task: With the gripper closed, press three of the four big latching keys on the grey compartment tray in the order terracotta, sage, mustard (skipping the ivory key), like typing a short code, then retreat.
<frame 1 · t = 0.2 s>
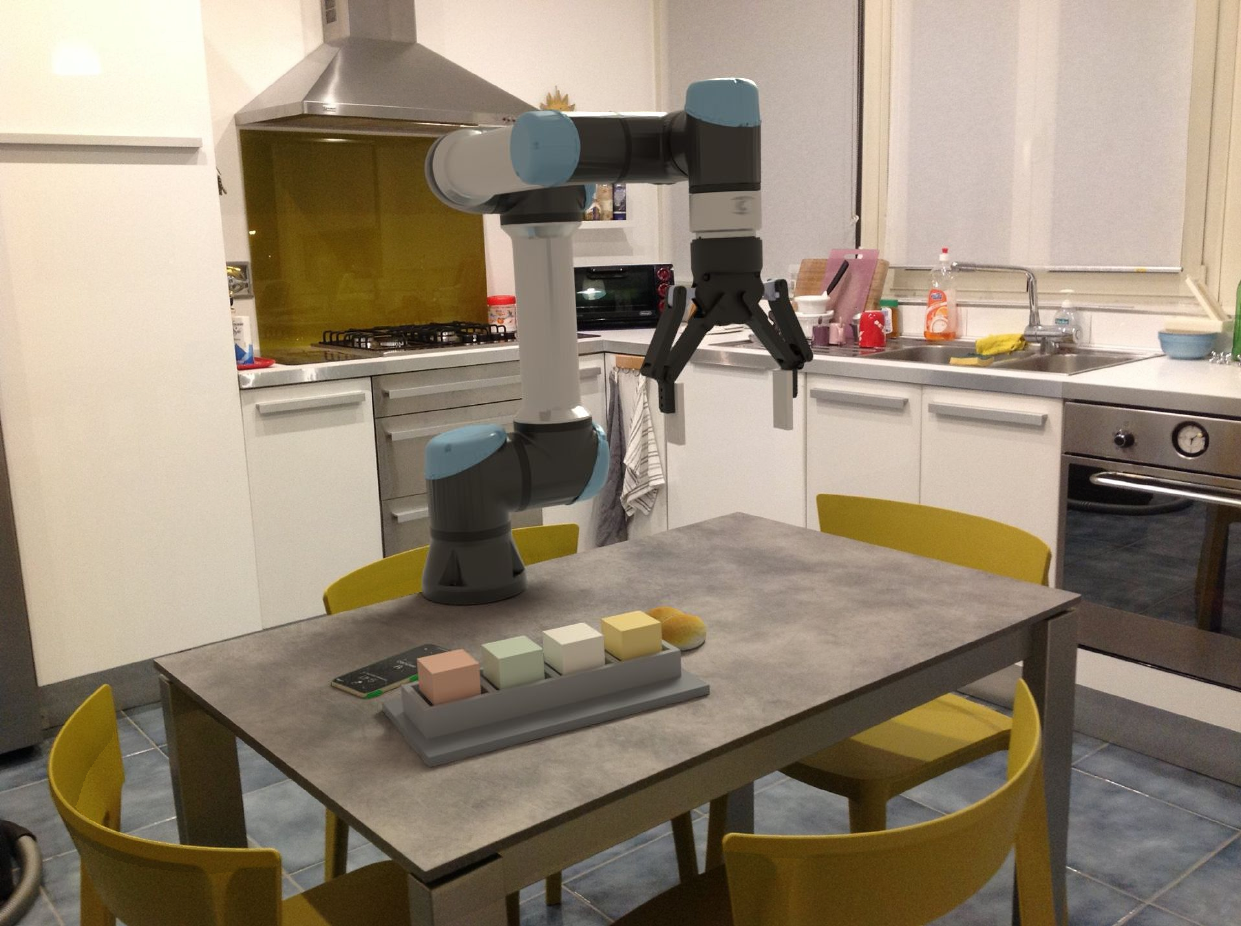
hand: (730, 436, 122), 28 cm above the table, fingers open, 13 cm apart
bread roll: (670, 642, 141), on the table
key sage: (512, 662, 121), point 5 cm above the table, slide at 0.0 cm
key mustard: (631, 635, 127), point 5 cm above the table, slide at 0.0 cm
grey compartment tray: (546, 701, 123), on the table
key terracotta: (448, 676, 117), point 5 cm above the table, slide at 0.0 cm
smartphone: (399, 675, 134), on the table
key ivory: (573, 648, 124), point 5 cm above the table, slide at 0.0 cm
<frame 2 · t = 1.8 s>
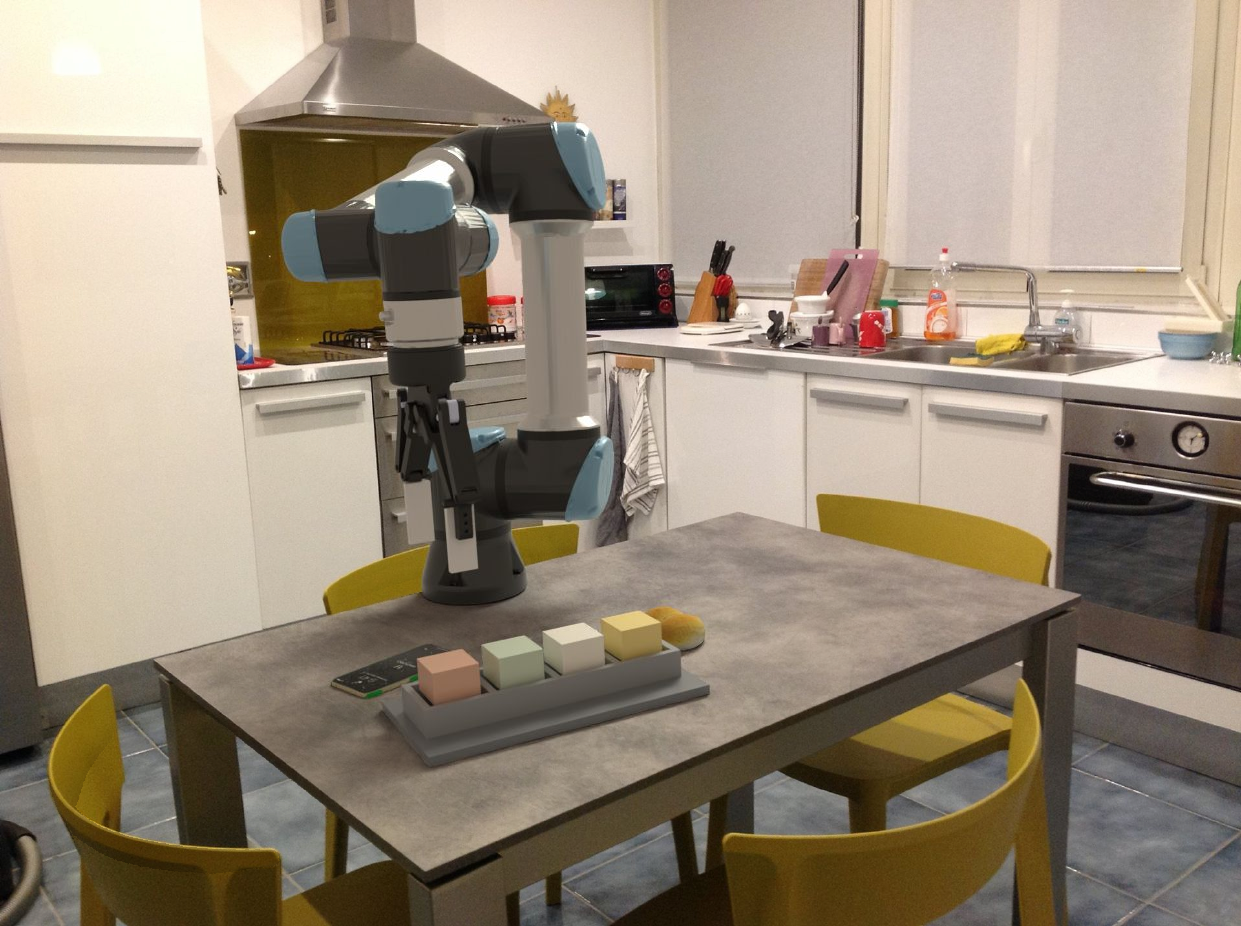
hand: (441, 555, 115), 18 cm above the table, fingers open, 12 cm apart
nothing on the table moved.
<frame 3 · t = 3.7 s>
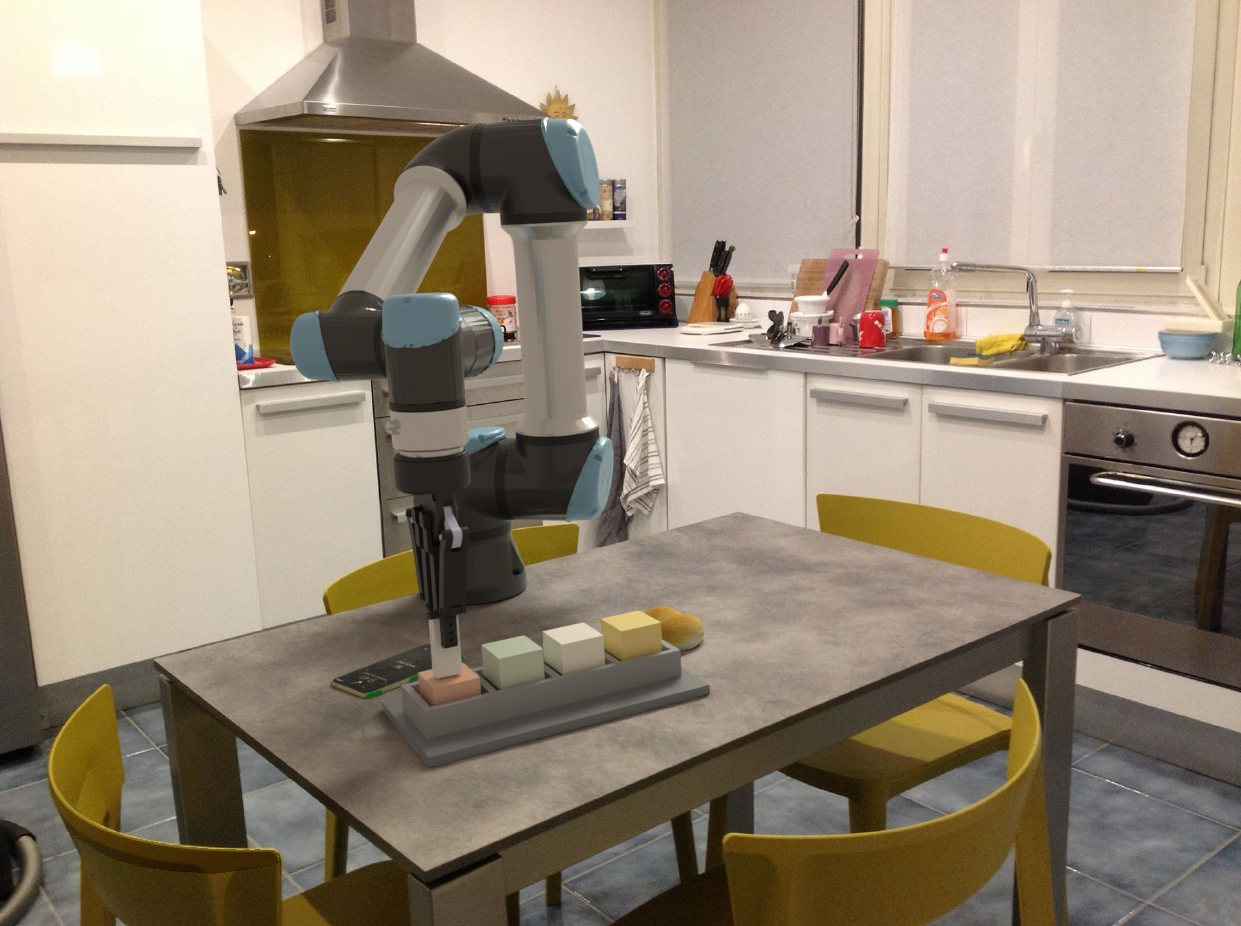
hand: (447, 673, 117), 6 cm above the table, fingers closed
key terracotta: (449, 690, 118), point 4 cm above the table, slide at 1.6 cm, touching gripper
everything else where it was.
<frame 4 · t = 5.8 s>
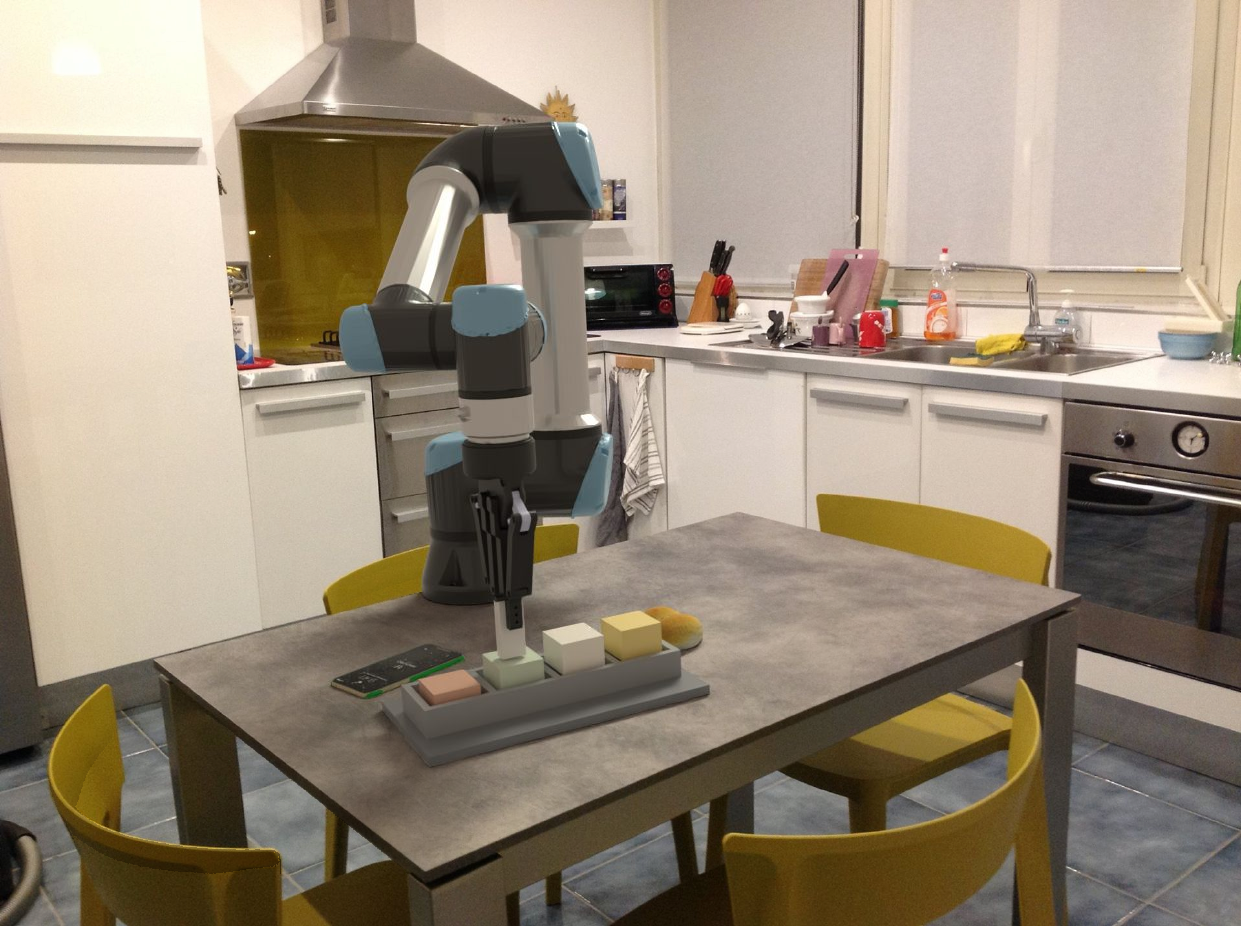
hand: (511, 654, 120), 6 cm above the table, fingers closed
key sage: (513, 671, 121), point 4 cm above the table, slide at 1.1 cm, touching gripper
key terracotta: (450, 697, 118), point 3 cm above the table, slide at 2.3 cm
everything else where it was.
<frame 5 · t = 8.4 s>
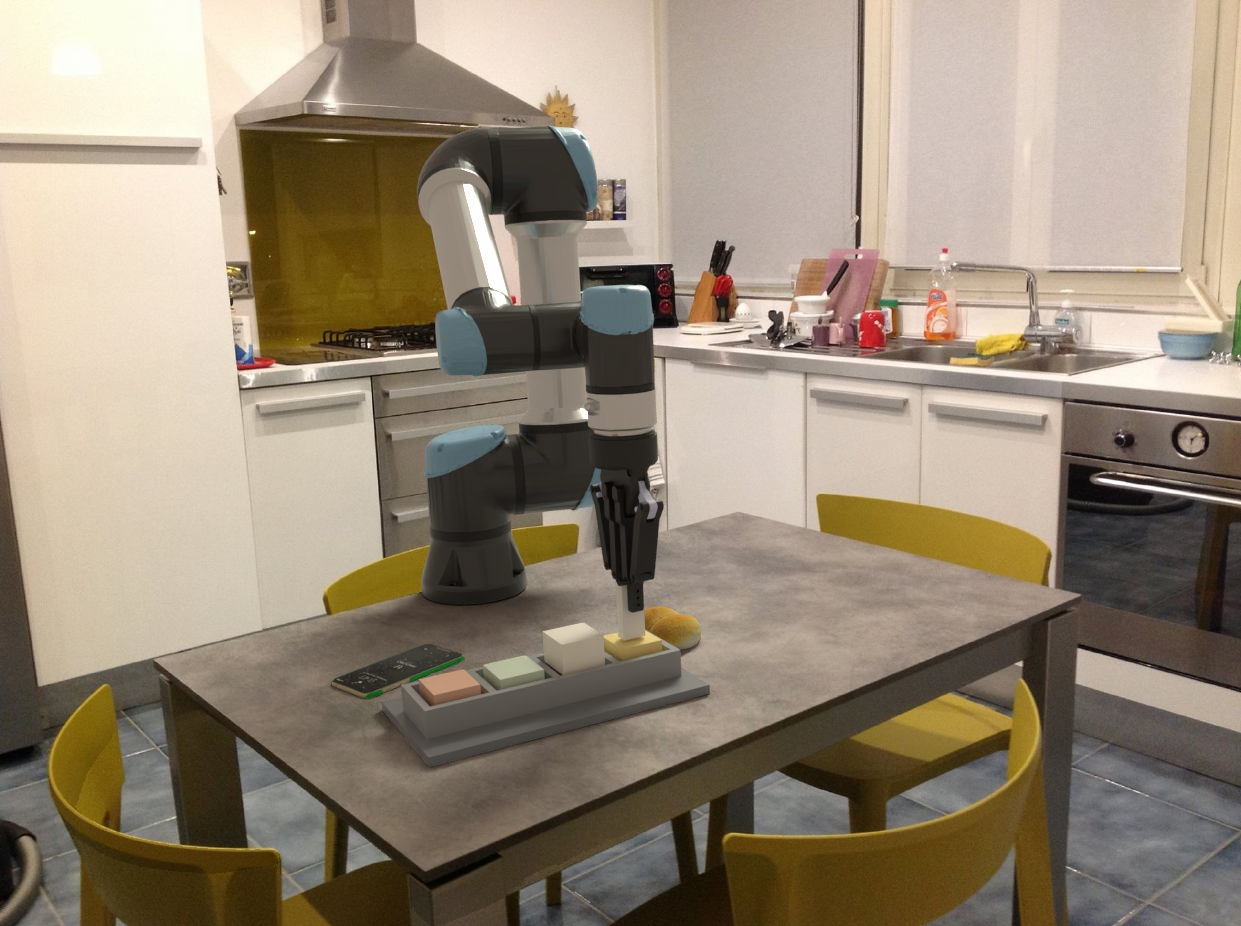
hand: (631, 636, 127), 5 cm above the table, fingers closed
key sage: (514, 682, 121), point 3 cm above the table, slide at 2.3 cm
key mustard: (632, 652, 128), point 3 cm above the table, slide at 2.1 cm
everything else where it was.
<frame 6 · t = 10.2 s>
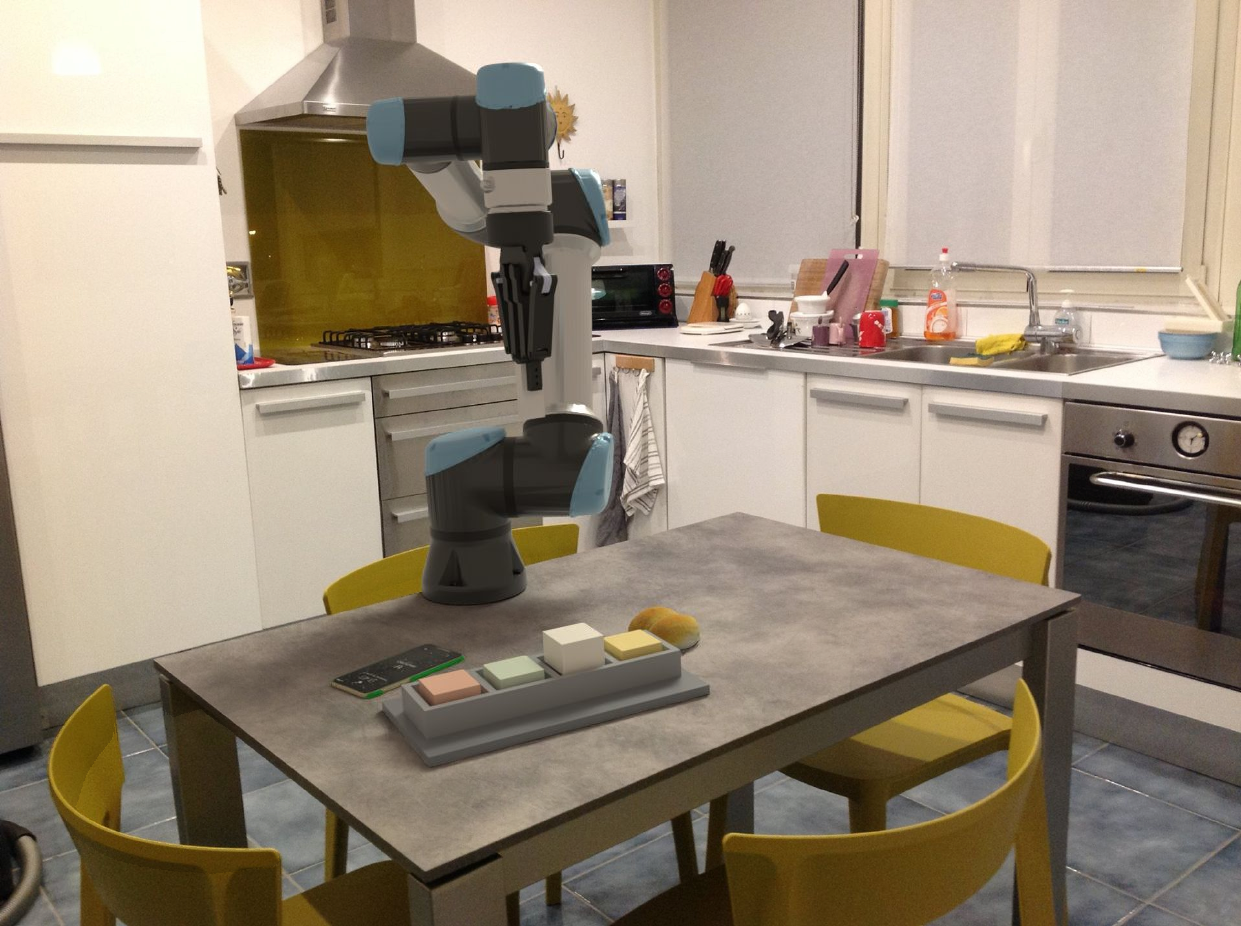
hand: (531, 417, 131), 29 cm above the table, fingers closed
nothing on the table moved.
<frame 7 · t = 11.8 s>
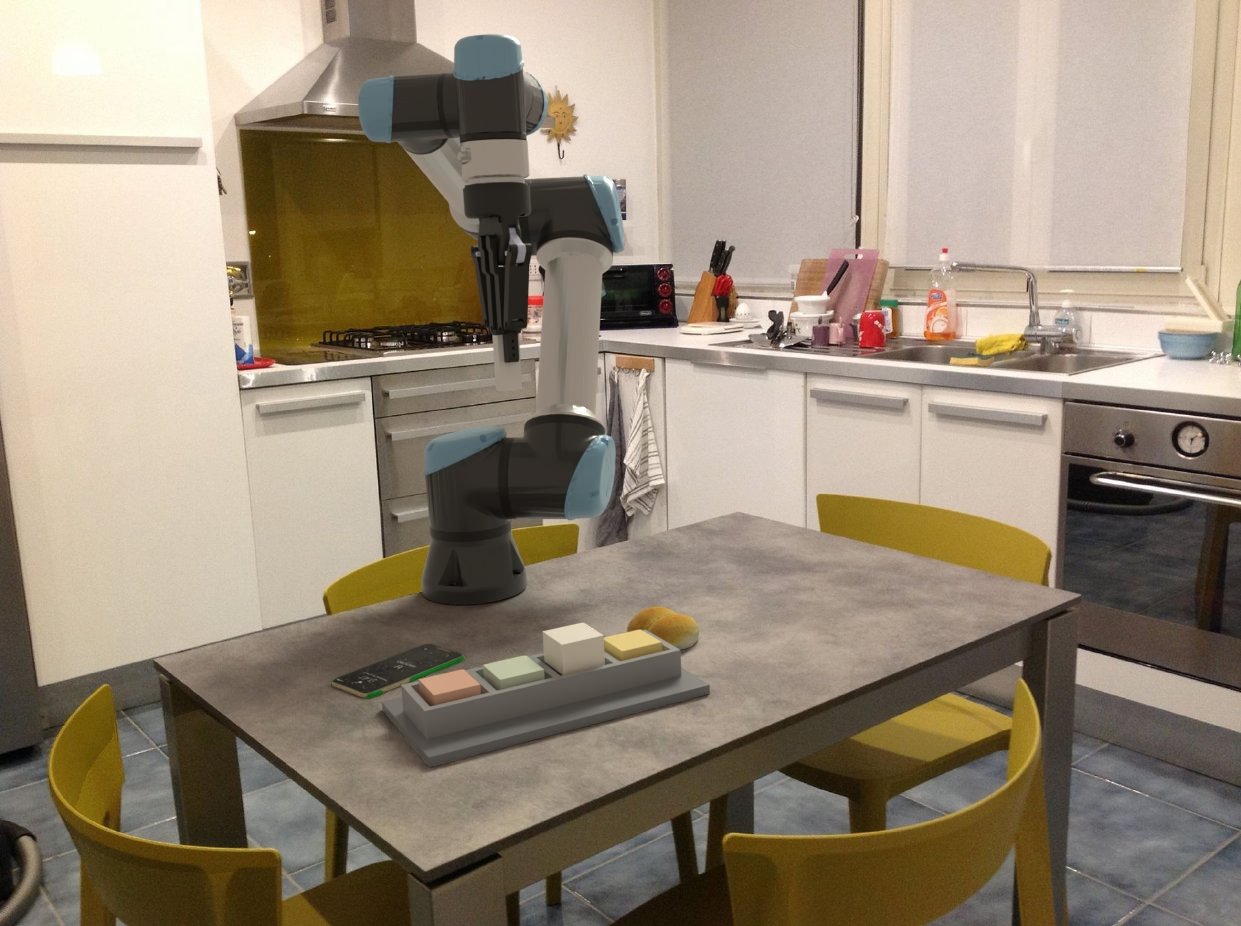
hand: (509, 389, 132), 32 cm above the table, fingers closed
nothing on the table moved.
at the end: key terracotta slide at 2.3 cm; key mustard slide at 2.3 cm; key ivory slide at 0.0 cm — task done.
